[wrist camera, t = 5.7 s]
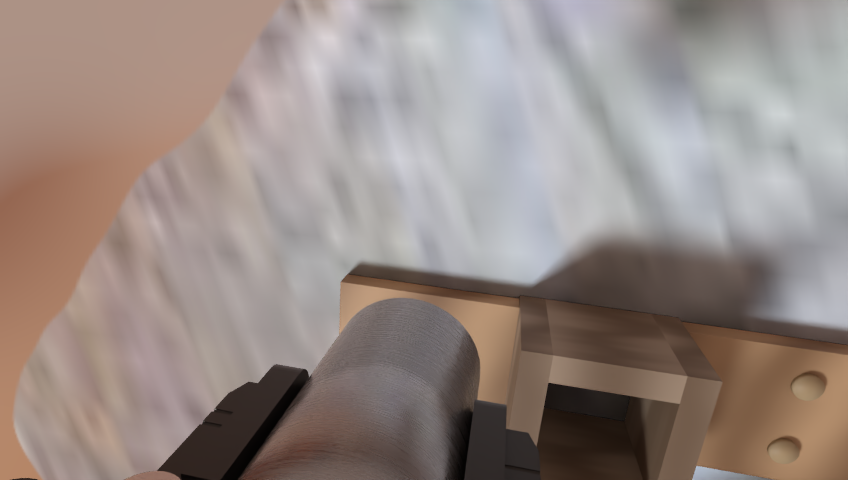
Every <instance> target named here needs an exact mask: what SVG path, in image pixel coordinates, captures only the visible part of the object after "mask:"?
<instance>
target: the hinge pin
mask: <svg viewBox="0 0 848 480" xmlns="http://www.w3.org/2000/svg"><path fill="white" fill-rule="evenodd" d="M480 370H481V368H480V359H479V355H478V351H477V348H476V346H475V343H474V341H473V339H472V338H471V336H470V334H469V333H468V332H467V330H466V329H465V328H464V326H463V325H462V324H461V323H460V322H459V321H458V320H457V319H456V318H454V317H453V316H452V315H451V314H449V313H448V312H446V311H445V310H443V309H442V308H440V307H438V306H435V305H433V304H431V303H428V302H425V301H422V300H417V299H413V298H390V299H384V300H381V301H377V302H374V303H372V304H370V305H368V306H366V307H365V308H363V309H361V310H360V311H359V312H358V313H356V314H355V315H354V316H353V317H352V318H351V319H350V321H349V322H348V323H347V325H346V326H345V327H344V329H343V330H342V332H341V333H340V334H339V336H338V337H337V339H336V340H335V342H334V343H333V344H332V346H331V347H330V349H329V350H328V352H327V353H326V354H325V356H324V357H323V359H322V360H321V362H320V363H319V364H318V366H317V367H316V369H315V370H314V371H313V373H312V374H311V376H310V377H309V379H308V380H307V381H306V383H305V384H304V386H303V387H302V389H301V390H300V391H299V393H298V394H297V396H296V397H295V399H294V400H293V401H292V403H291V404H290V406H289V407H288V408H287V410H286V411H285V413H284V414H283V416H282V417H281V418H280V420H279V421H278V423H277V424H276V426H275V427H274V428H273V430H272V431H271V433H270V434H269V436H268V437H267V438H266V440H265V441H264V443H263V444H262V445H261V447H260V448H259V450H258V451H257V453H256V454H255V455H254V457H253V458H252V460H251V461H250V463H249V464H248V465H247V467H246V468H245V470H244V471H243V473H242V474H241V475H240V477H239V478H238V480H464V477H465V470H466V462H467V454H468V447H469V439H470V432H471V424H472V417H473V409H474V401H475V399H476V400H477V398H478V390H479V382H480Z"/></svg>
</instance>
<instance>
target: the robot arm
mask: <svg viewBox="0 0 848 480" xmlns="http://www.w3.org/2000/svg"><path fill="white" fill-rule="evenodd" d="M308 379H309V375H308V371H307V370H306V369H300V368H295V367H289V366H283V365H277V364H276V365H274V366H273V367H272V368H271V369H270V370H269V371H268V372H267V373H266V375H265V376H264V377H263V378H262V379H261V380H260V382H259V383H253V382H248V383H246V384H244V385H242V386H241V387H239V388H237V389H235V390H234V391H232V392H230V393H228V395H227V396H226V397H225V398H224V399H223V400H222V401H221V402H220V403H219V404H218V405H217V406H216V408H215V410H214V412H211V413H210V414H209V415H208V416H207V417H206V418H205V419H204V421H203V423H202V425H201V424H200V425H199V426H198V427H197V428H196V429H195V430H194V431H193V432H192V433H191V435H190V436H189V437H188V438H187V439H186V440H185V441H184V442H183V443H182V444H181V445H180V446H179V448H178V449H177V450H176V451H175V452H174V453H173V454H172V455H171V456H170V457H169V458H168V459H167V461H166V462H165V463H164V464H163V465H162V466H161V467H160V468H159V469H158V470H157V471H149V472H144V473H140V474H136V475H133V476H131V477H128V478H126V479H124V480H238V478H239V477H240V475H241V474H242V473H243V471H244V470H245V468H246V467H247V465H248V464H249V463H250V461H251V460H252V458H253V457H254V455H255V454H256V453H257V451H258V450H259V448H260V447H261V445H262V444H263V443H264V441H265V440H266V438H267V437H268V436H269V434H270V433H271V431H272V430H273V428H274V427H275V426H276V424H277V423H278V421H279V420H280V418H281V417H282V416H283V414H284V413H285V411H286V410H287V408H288V407H289V406H290V404H291V403H292V401H293V400H294V399H295V397H296V396H297V394H298V393H299V391H300V390H301V389H302V387H303V386H304V384H305V383H306V381H307V380H308ZM506 415H507V405H505V404H499V403H493V402H488V401H482V400H476V399H475V401H474V409H473V417H472V424H471V432H470V439H469V447H468V454H467V462H466V470H465V477H464V480H541V475H540V459H539V450H538V449H537V447H536V445H535V444H534V442H533V440H532V438H531V437H530V435H529V433H527V432H521V431H516V430H510V429H506ZM12 480H37V479H30V478H20V479H12Z"/></svg>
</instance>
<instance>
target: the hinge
mask: <svg viewBox="0 0 848 480" xmlns="http://www.w3.org/2000/svg"><path fill="white" fill-rule="evenodd" d="M390 298H413V299H417V300H422V301H425V302H428V303H431V304H433V305H435V306H438V307H440V308H442V309H443V310H445V311H446V312H448V313H449V314H451V315H452V316H453V317H454V318H456V319H457V320H458V321H459V322H460V323H461V324H462V325H463V326H464V328H465V329H466V330H467V332H468V333H469V334H470V336H471V338H472V339H473V341H474V343H475V346H476V348H477V351H478V355H479V359H480V368H481V370H480V382H479V390H478V398H477V400H482V401H488V402H493V403H499V404H505V405H507V415H506V429H510V430H516V431H521V432H527V433H529V435H530V437H531V438H532V440H533V442H534V444H535V445H536V447H537V449H538V450H539V459H540V475H541V480H692V478H693V474H694V471H695V468H696V466H702V467H707V468H713V469H719V470H724V471H730V472H735V473H741V474H747V475H752V476H758V477H763V478H769V479H774V480H848V345H843V344H836V343H829V342H822V341H815V340H808V339H801V338H794V337H787V336H779V335H772V334H765V333H758V332H751V331H744V330H737V329H730V328H723V327H716V326H709V325H702V324H695V323H688V322H681V321H680V319H679V318H677V317H670V316H663V315H656V314H649V313H641V312H634V311H627V310H620V309H613V308H606V307H599V306H592V305H585V304H578V303H570V302H563V301H556V300H549V299H542V298H535V297H528V296H521V295H520V298H511V297H504V296H497V295H490V294H483V293H476V292H469V291H462V290H455V289H448V288H441V287H434V286H427V285H420V284H413V283H406V282H399V281H392V280H385V279H377V278H370V277H363V276H356V275H349V274H347V275H346V276H345V278H344V279H343V280H342V281H341V289H340V329H339V334H340V333H341V332H342V330H343V329H344V327H345V326H346V325H347V323H348V322H349V321H350V319H351V318H352V317H353V316H354V315H355V314H356V313H358V312H359V311H360V310H361V309H363V308H365V307H366V306H368V305H370V304H372V303H374V302H377V301H381V300H384V299H390ZM548 383H554V384H560V385H566V386H572V387H578V388H585V389H591V390H597V391H603V392H609V393H615V394H621V395H627V396H631V397H630V401H629V405H628V409H627V413H626V417H625V421H618V420H613V419H607V418H601V417H595V416H589V415H583V414H577V413H572V412H566V411H560V410H554V409H548V408H544V404H545V398H546V393H547V387H548Z"/></svg>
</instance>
